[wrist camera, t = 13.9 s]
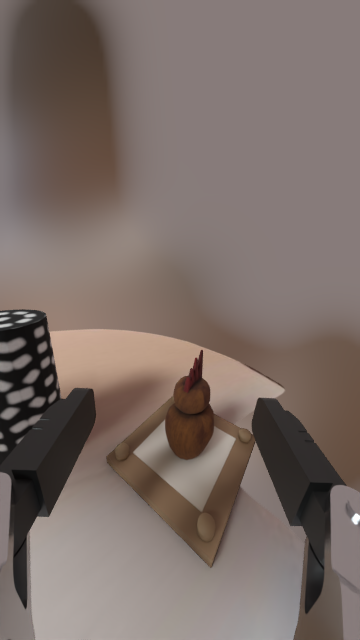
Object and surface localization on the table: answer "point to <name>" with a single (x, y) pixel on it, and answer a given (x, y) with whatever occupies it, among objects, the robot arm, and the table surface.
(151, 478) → the base plate
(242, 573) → the table surface
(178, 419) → the wooden figurine
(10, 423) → the spotted tube
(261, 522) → the table surface
